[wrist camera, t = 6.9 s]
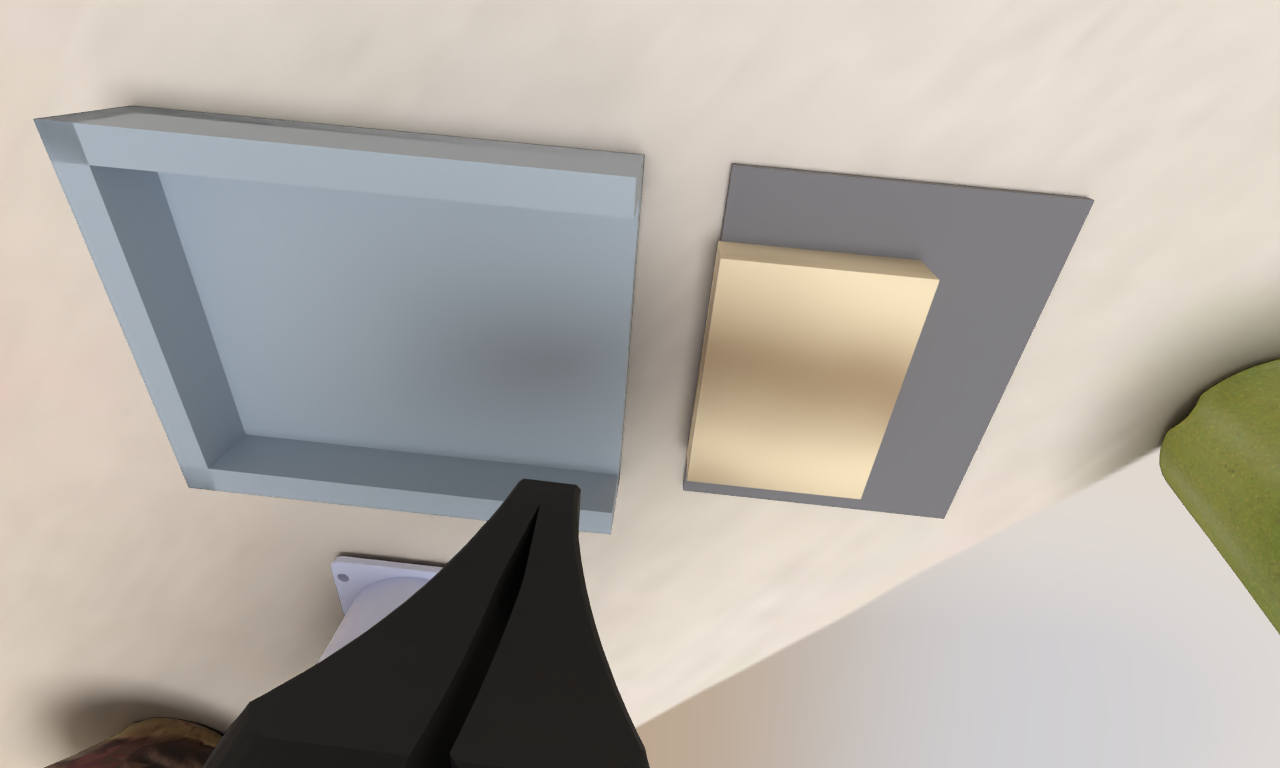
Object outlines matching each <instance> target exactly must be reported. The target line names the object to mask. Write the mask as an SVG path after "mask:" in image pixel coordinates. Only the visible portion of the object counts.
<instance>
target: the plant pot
mask: <svg viewBox="0 0 1280 768" xmlns="http://www.w3.org/2000/svg"><path fill="white" fill-rule="evenodd" d="M1160 468H1161V471H1162V474H1163V476H1164V478H1165V480H1166V482H1167V483H1168V484H1169V486H1170V487H1171V488H1172V490H1173V491H1174V493H1175V494H1176V495H1177V496H1178V498H1179V499H1180V500H1181V502H1182V503H1183V505H1184V506H1185V507H1186V509H1187V510H1188V511H1189V513H1190V514H1191V515H1192V517H1193V518H1194V519H1195V521H1196V522H1197V523H1198V524H1199V526H1200V527H1201V528H1202V530H1203V531H1204V532H1205V534H1206V535H1207V536H1208V538H1209V539H1210V540H1211V542H1212V543H1213V544H1214V546H1215V547H1216V548H1217V550H1218V551H1219V552H1220V554H1221V555H1222V557H1223V558H1224V559H1225V561H1226V562H1227V563H1228V565H1229V566H1230V567H1231V569H1232V570H1233V571H1234V572H1235V574H1236V575H1237V577H1238V578H1239V579H1240V581H1241V582H1242V583H1243V585H1244V586H1245V588H1246V589H1247V590H1248V592H1249V593H1250V594H1251V596H1252V597H1253V598H1254V600H1255V601H1256V603H1257V604H1258V605H1259V607H1260V608H1261V610H1262V611H1263V612H1264V614H1265V615H1266V616H1267V618H1268V619H1269V621H1270V622H1271V623H1272V625H1273V626H1274V627H1275V629H1276V630H1277V631H1278V633H1279V634H1280V359H1279V360H1275V361H1271V362H1267V363H1264V364H1260V365H1257V366H1254V367H1252V368H1249V369H1247V370H1244V371H1242V372H1239V373H1237V374H1235V375H1233V376H1231V377H1229V378H1227V379H1225V380H1223V381H1221V382H1220V383H1218V384H1216V385H1215V386H1213V387H1211V388H1210V389H1209V390H1207V391H1206V392H1204V393H1203V394H1202V395H1201V396H1200V398H1199V400H1198V402H1197V405H1196V406H1195V408H1194V409H1193V410H1192V412H1191V413H1190V414H1189V415H1188V417H1187V418H1186V419H1185V420H1183V421H1182V422H1181V423H1180V424H1178V425H1177V426H1175V427H1173V428H1172V429H1170V430H1169V431H1168V432H1167V434H1166V436H1165V438H1164V440H1163V443H1162V445H1161V450H1160Z"/></svg>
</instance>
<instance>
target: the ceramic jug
mask: <svg viewBox="0 0 1280 768" xmlns="http://www.w3.org/2000/svg"><path fill="white" fill-rule="evenodd" d="M222 737H223V736H221V735H220V734H218V733H217V732H216V731H214V730H211V729H209V728H207V727H204V726H202V725H199V724H197V723H193V722H189V721H184V720H179V719H172V718H151V719H147V720H143V721H138V722H134V723H132V724H131V725H129V726H128V727H127V728H125V729H124V730H123V731H122V732H121V733H119V734H117V735H115V736H113V737H111V738H109V739H107V740H105V741H103V742H101V743H98V744H96V745H94V746H92V747H90V748H88V749H86V750H84V751H82V752H80V753H78V754H76V755H73V756H71V757H69V758H66V759H64V760H61V761H59V762H57V763H54V764H52V765H49V766H47V767H45V768H202V767H203V765H204V764H205V762H206V761H207V759H208V758H209V756H210V755H211V753H212V752H213V750H214V749H215V747H216V746H217V744H218V743H219V741H220V740H221V738H222Z"/></svg>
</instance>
